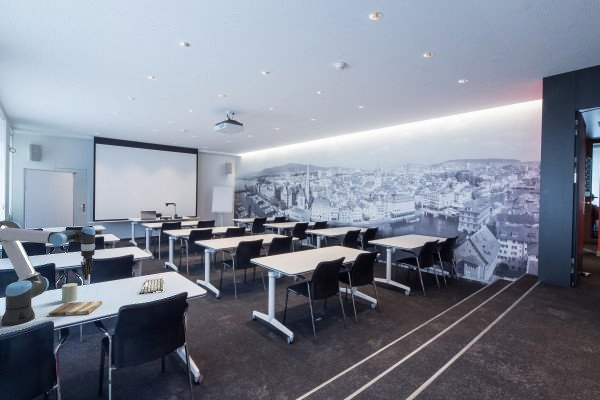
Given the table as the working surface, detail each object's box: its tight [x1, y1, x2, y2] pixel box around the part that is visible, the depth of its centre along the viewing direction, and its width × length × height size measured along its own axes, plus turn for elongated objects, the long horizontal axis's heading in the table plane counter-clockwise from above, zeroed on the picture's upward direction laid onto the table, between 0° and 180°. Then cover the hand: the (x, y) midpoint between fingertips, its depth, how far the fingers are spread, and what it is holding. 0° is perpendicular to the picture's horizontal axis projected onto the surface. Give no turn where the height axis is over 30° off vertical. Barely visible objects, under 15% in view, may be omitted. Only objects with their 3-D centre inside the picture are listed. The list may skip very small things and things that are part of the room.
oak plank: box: [64, 300, 103, 316], centre depth 200 cm, size 14×18×2 cm
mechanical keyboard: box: [139, 277, 164, 295], centre depth 253 cm, size 38×19×3 cm, turn 27°
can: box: [61, 282, 78, 303], centre depth 217 cm, size 9×9×12 cm
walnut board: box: [48, 301, 81, 317], centre depth 198 cm, size 9×18×2 cm, turn 11°
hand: (87, 283), depth 200 cm, fingers closed
